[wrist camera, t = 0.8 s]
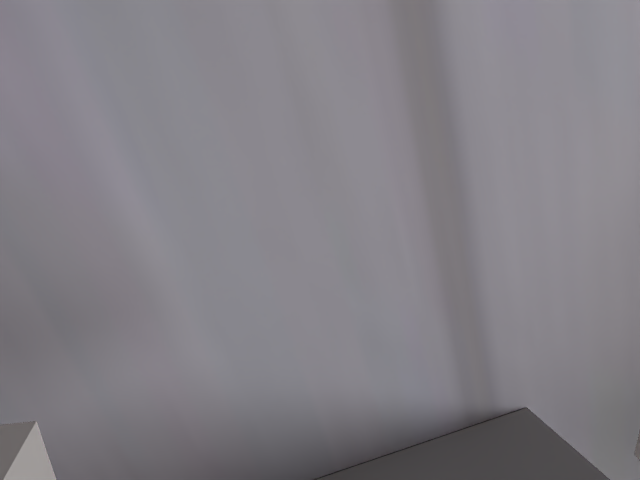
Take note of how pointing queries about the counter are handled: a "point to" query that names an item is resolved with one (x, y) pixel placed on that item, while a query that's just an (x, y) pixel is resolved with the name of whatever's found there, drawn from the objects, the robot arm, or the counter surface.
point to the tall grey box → (483, 455)
